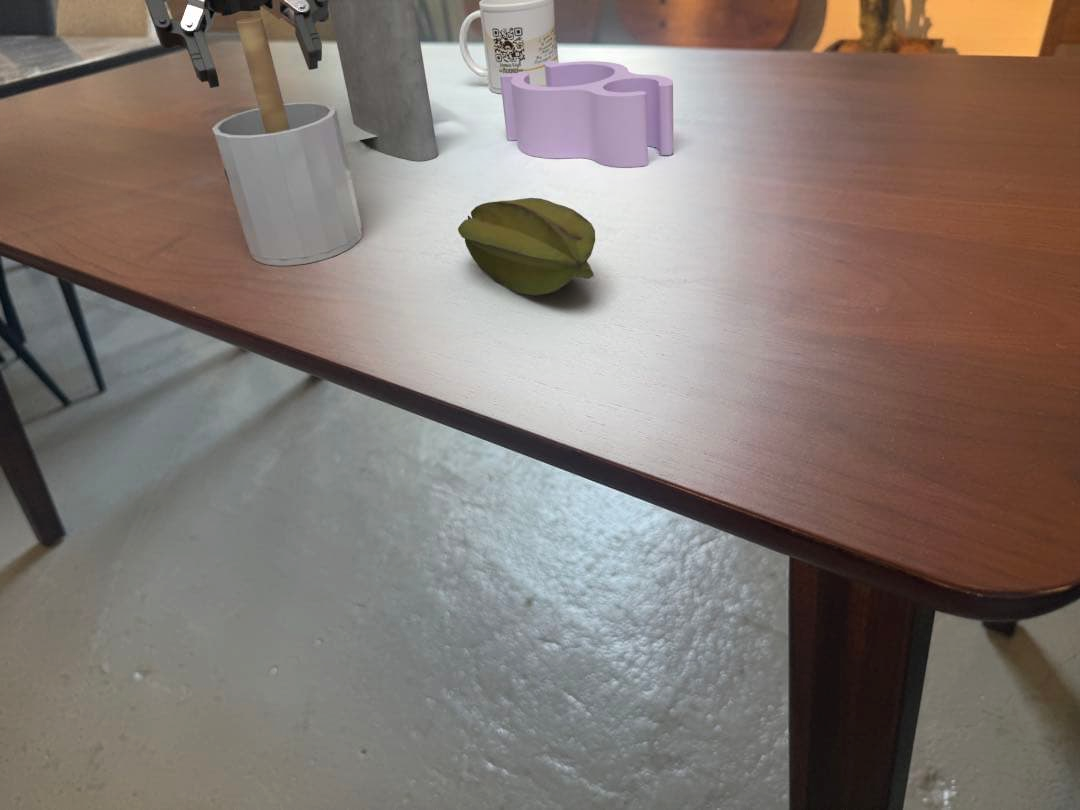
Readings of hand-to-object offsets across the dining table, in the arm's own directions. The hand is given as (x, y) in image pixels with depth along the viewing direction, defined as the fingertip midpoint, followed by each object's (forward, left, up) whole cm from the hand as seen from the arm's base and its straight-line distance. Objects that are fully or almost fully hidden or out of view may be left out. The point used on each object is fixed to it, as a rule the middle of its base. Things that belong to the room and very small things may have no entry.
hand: (264, 71), depth 68 cm
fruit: (+13, -19, -15) cm, 27 cm away
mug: (+38, +40, -15) cm, 58 cm away
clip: (+33, +9, -15) cm, 38 cm away
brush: (0, +1, -14) cm, 14 cm away
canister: (0, +1, -15) cm, 15 cm away
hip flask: (+15, +24, -15) cm, 32 cm away
